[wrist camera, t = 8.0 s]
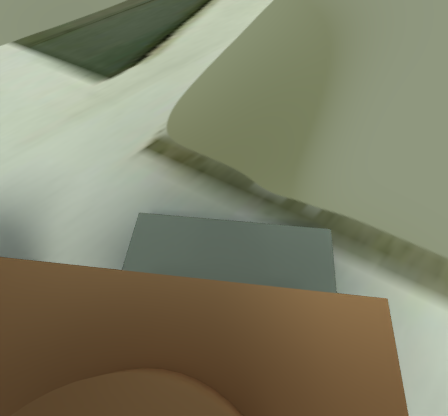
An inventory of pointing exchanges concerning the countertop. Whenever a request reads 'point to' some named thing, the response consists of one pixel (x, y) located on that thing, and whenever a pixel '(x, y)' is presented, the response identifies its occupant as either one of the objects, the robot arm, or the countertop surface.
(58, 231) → the countertop surface
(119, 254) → the countertop surface
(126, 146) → the countertop surface
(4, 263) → the terracotta block
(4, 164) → the countertop surface
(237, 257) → the base slab
